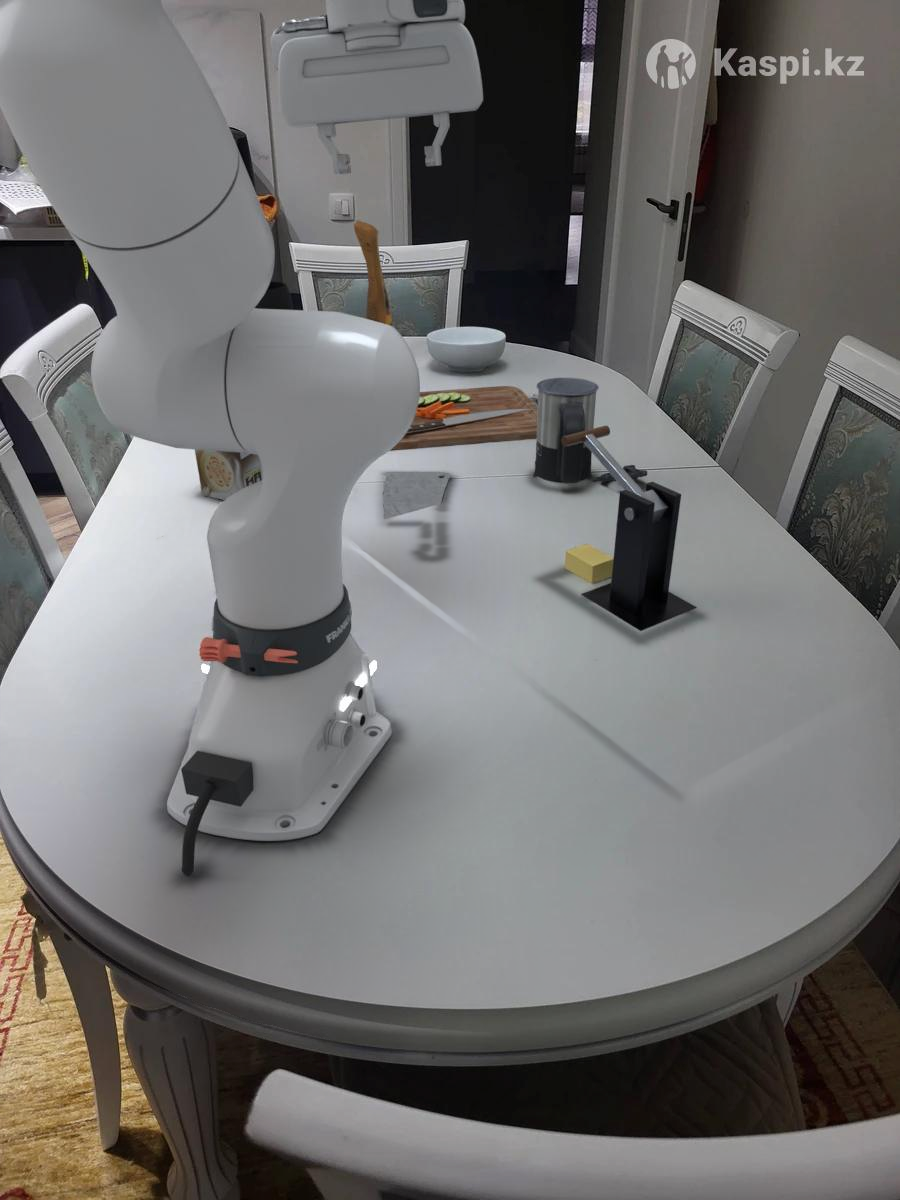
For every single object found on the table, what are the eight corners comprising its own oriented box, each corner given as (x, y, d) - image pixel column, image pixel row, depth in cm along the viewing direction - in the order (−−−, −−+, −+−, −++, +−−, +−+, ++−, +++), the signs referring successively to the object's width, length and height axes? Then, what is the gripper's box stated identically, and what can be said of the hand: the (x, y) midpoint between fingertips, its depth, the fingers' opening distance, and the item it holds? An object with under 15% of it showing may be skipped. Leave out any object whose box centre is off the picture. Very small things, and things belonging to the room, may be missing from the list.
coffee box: (274, 491, 135) (262, 387, 127) (247, 506, 131) (233, 399, 123) (227, 481, 139) (212, 379, 131) (199, 495, 134) (182, 391, 126)
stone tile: (370, 558, 116) (446, 557, 116) (369, 554, 116) (446, 554, 115) (386, 473, 141) (449, 473, 141) (386, 470, 141) (449, 470, 141)
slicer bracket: (579, 602, 106) (588, 487, 98) (635, 581, 110) (647, 469, 103) (639, 640, 99) (654, 518, 91) (696, 616, 103) (714, 498, 95)
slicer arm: (558, 445, 103) (564, 430, 101) (600, 434, 106) (607, 419, 104) (630, 531, 96) (639, 516, 95) (673, 516, 100) (682, 502, 98)
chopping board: (528, 390, 179) (529, 375, 177) (572, 434, 156) (573, 417, 154) (303, 407, 171) (301, 391, 169) (314, 456, 148) (312, 438, 146)
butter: (564, 569, 111) (565, 550, 110) (585, 561, 113) (587, 543, 111) (591, 585, 107) (592, 566, 106) (612, 577, 109) (614, 558, 108)
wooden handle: (369, 364, 197) (362, 228, 183) (360, 343, 213) (352, 216, 199) (399, 362, 198) (394, 226, 184) (388, 341, 214) (382, 215, 200)
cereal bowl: (513, 360, 198) (514, 328, 195) (493, 381, 185) (494, 346, 181) (441, 354, 203) (440, 323, 199) (416, 374, 189) (415, 341, 186)
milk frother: (523, 471, 141) (526, 379, 134) (611, 459, 146) (619, 369, 138) (561, 506, 130) (567, 407, 122) (656, 491, 134) (668, 395, 127)
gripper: (258, 16, 84) (281, 178, 89) (475, -9, 81) (484, 160, 87) (276, 27, 89) (296, 179, 95) (479, 4, 87) (487, 162, 93)
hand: (388, 170), depth 91 cm, fingers open, 8 cm apart
